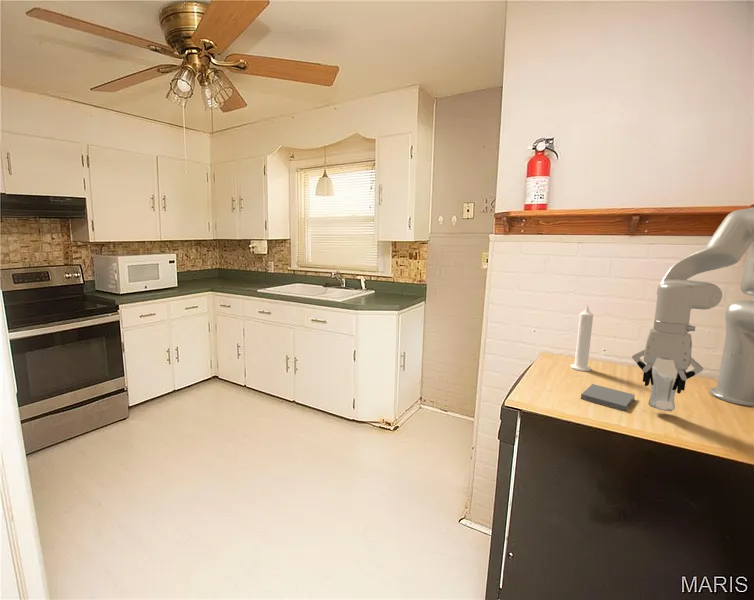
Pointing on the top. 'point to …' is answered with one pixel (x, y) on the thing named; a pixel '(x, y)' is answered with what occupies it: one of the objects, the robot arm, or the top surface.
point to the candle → (583, 341)
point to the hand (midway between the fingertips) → (662, 387)
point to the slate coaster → (608, 397)
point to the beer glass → (663, 384)
